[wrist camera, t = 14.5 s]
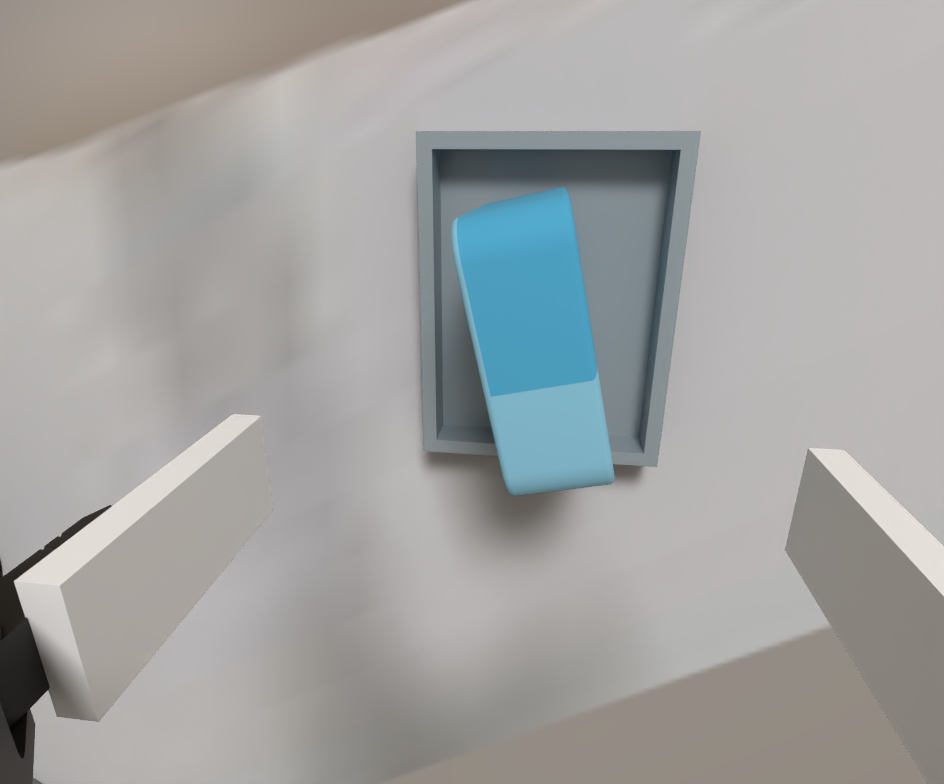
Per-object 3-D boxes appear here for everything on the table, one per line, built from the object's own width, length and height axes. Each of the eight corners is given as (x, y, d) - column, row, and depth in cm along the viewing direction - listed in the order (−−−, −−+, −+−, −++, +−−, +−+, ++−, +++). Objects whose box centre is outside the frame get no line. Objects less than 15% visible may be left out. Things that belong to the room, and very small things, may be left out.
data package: (599, 394, 35) (618, 498, 24) (524, 406, 36) (509, 511, 25) (566, 184, 31) (570, 193, 20) (483, 203, 32) (443, 222, 21)
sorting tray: (433, 430, 38) (423, 451, 36) (428, 134, 32) (415, 131, 29) (649, 444, 37) (656, 467, 34) (688, 134, 31) (700, 131, 28)
